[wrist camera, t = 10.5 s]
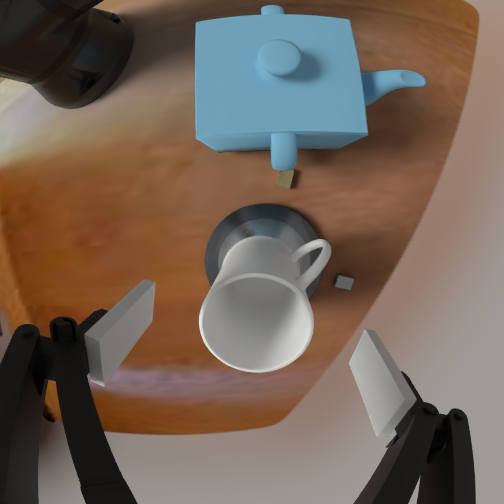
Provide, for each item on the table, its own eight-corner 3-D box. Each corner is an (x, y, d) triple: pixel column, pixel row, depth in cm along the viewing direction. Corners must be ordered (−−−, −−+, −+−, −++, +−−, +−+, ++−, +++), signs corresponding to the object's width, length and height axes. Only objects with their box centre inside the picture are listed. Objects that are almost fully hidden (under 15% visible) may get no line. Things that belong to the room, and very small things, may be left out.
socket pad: (227, 156, 28) (226, 154, 27) (376, 195, 28) (379, 196, 27) (193, 327, 34) (191, 331, 32) (322, 355, 34) (323, 359, 32)
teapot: (222, 177, 29) (189, 173, 17) (218, 51, 25) (191, -11, 13) (382, 175, 28) (448, 174, 15) (368, 54, 24) (413, 1, 12)
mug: (296, 201, 28) (315, 213, 16) (338, 266, 29) (376, 314, 18) (206, 264, 30) (171, 312, 19) (251, 322, 32) (243, 390, 20)
